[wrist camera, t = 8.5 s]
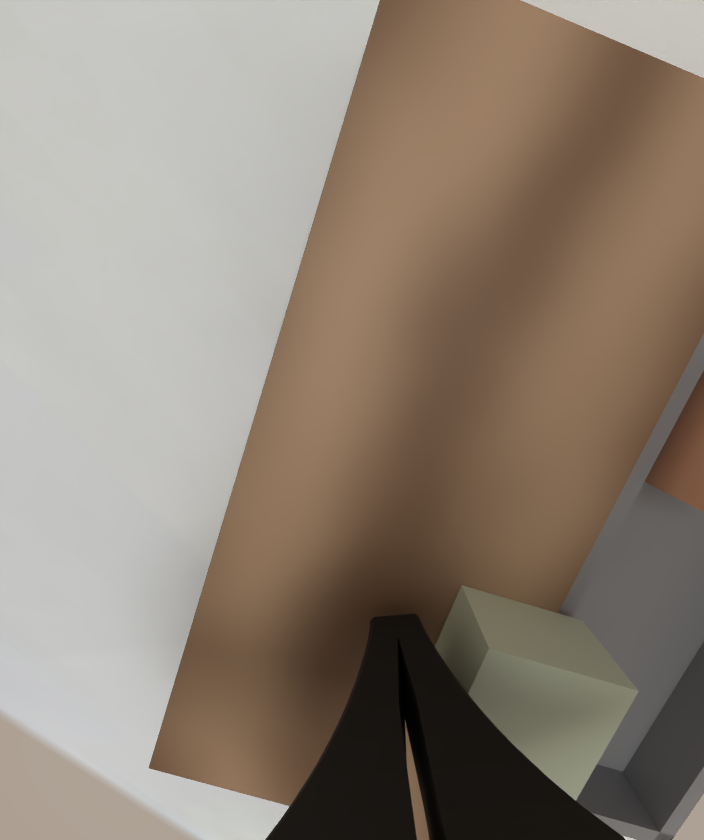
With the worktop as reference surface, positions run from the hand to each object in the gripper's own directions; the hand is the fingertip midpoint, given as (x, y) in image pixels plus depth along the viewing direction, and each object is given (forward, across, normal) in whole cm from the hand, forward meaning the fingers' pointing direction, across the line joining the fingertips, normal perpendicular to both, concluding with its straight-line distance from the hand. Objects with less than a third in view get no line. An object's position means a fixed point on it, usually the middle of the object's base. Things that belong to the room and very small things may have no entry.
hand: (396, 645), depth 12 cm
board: (+4, -1, -4) cm, 6 cm away
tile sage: (+1, -3, +2) cm, 4 cm away
